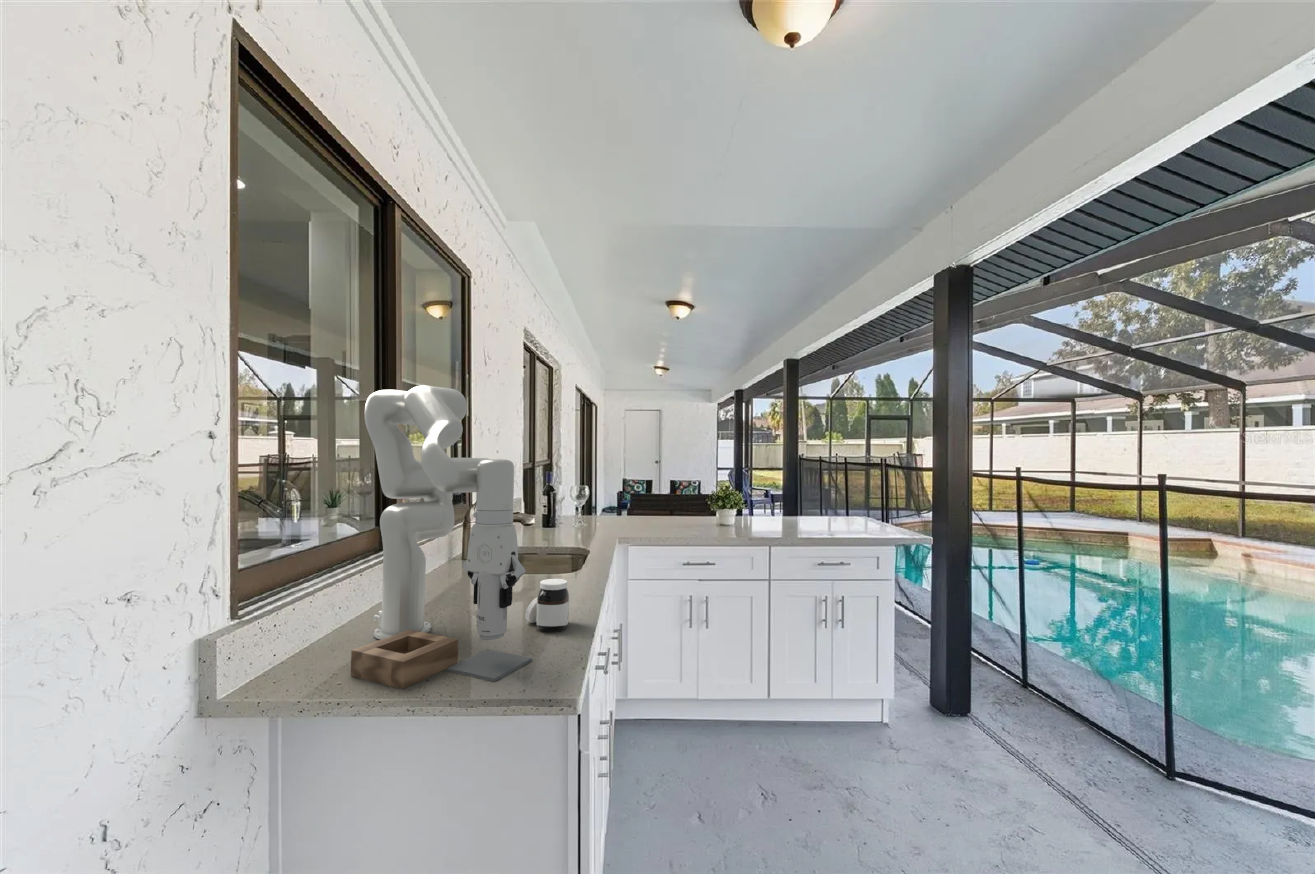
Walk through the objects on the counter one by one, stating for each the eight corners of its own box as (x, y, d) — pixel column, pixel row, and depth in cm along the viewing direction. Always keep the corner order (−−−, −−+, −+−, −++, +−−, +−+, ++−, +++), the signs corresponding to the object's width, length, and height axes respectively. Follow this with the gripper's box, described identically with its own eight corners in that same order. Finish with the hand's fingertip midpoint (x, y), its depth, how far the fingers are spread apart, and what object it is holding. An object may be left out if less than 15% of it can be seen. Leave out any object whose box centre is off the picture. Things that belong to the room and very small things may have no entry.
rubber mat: (447, 670, 110) (447, 667, 110) (487, 651, 121) (487, 649, 121) (494, 681, 105) (494, 678, 105) (531, 660, 116) (532, 657, 116)
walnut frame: (350, 675, 107) (351, 650, 107) (408, 652, 120) (409, 629, 120) (402, 689, 101) (403, 662, 102) (457, 663, 114) (458, 639, 114)
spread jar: (564, 634, 134) (565, 586, 134) (518, 633, 134) (519, 585, 135) (572, 619, 146) (573, 575, 146) (530, 618, 146) (531, 575, 146)
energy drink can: (475, 633, 115) (477, 561, 116) (504, 630, 117) (506, 559, 118) (477, 642, 109) (479, 567, 110) (508, 638, 112) (509, 565, 112)
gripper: (449, 517, 114) (447, 604, 114) (516, 522, 107) (514, 614, 107) (474, 514, 121) (472, 596, 121) (539, 518, 114) (537, 605, 114)
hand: (492, 603), depth 114 cm, fingers closed on energy drink can, 6 cm apart
